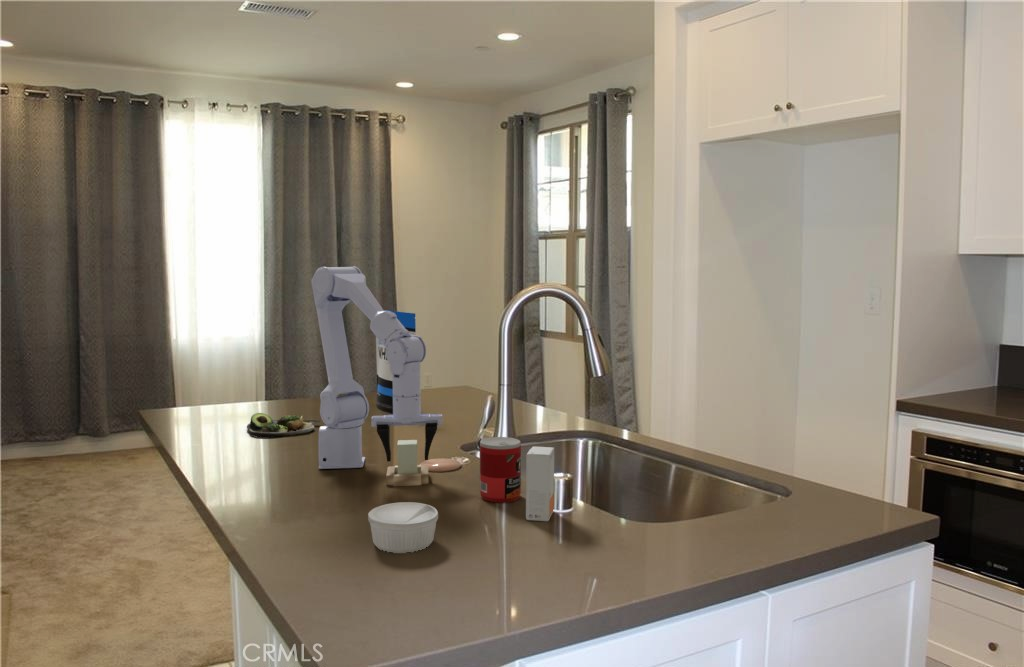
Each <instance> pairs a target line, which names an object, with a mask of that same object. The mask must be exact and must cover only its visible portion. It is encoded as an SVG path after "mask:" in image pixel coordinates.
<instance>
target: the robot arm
mask: <svg viewBox="0 0 1024 667" xmlns="http://www.w3.org/2000/svg"><path fill="white" fill-rule="evenodd" d="M310 282H311V288H312V294H313V300H314V305H315V308H316V316H317V321H318V327H319V332H320V339H321V345H322V350H323V355H324V362H325V369H326V374H327V381H328V384H327V386H326V387H325V388H324V389H323V390H322V391H321V392H320V394H319V397H320V406H319V415H320V419H321V420H322V422H323V423H324V424H325V425H321V426H319V429H318V469H319V470H323V469H324V470H326V469H327V470H329V469H331V470H332V469H358V468H359V469H361V468H363V467H364V464H365V461H366V456H363V443H362V442H363V440H362V439H363V436H362V432H363V430H362V425H363V424H365V420H366V418H367V417H368V415H369V412H370V404H369V401H368V398H367V396H366V395H365V392H364V387H363V386H362V385H361V384H360V383H358V382H357V381H356V380H355V379H354V378H353V377H354V376H353V375H354V374H353V372H352V371H353V370H352V364H351V358H350V354H349V353H350V352H349V347H348V342H347V341H348V340H347V336H346V329H345V324H344V317H343V313H342V312H343V309H345V306H347V305H348V304H350V302H351V301H352V302H353V304H355V306H356V307H358V309H359V310H360V311H361V312H362V313H363V314H364V315H365V317H367V318H368V319H369V321H370V323H369V329H370V330H371V332H372V333H373V335H374V336H375V338H376V337H377V338H378V339H379V340H380V342H381V343H382V344H383V345H384V347H385V348H386V349H387V351H385V352H386V358H387V360H388V362H389V364H390V371H391V373H392V376H393V413H392V414H384V415H372V416H371V419H370V420H371V423H370V426H371V428H376V433H377V435H378V437H379V439H380V440H381V443H382V445H383V449H384V451H385V456H386V462H391V460H392V451H391V442H390V441H391V434H390V433H391V432H390V431H391V430H390V429H391V427H392V426H393V427H395V426H397V427H399V426H401V427H402V426H425V427H424V428H425V429H424V430H425V431H424V432H425V433H424V434H425V435H424V437H425V438H424V439H425V443H424V461H426V460H429V456H430V455H429V453H430V449H431V446H432V443H433V440H434V438H435V436H436V433H437V430H438V426H443V414H442V413H441V414H440V413H438V414H435V413H422V404H421V402H422V399H421V398H422V394H421V392H422V391H421V390H422V389H421V388H422V387H421V386H422V385H421V384H422V383H421V363H422V362H423V361H424V360H425V358H426V355H427V348H426V347H427V346H426V344H425V342H424V339H423V338H422V336H419V335H418V334H416V335H413V334H412V333H409V332H408V330H407V329H405V327H404V326H403V325H402V324H401V323H400V321H399V320H398V319H397V318H396V317H397V316H396V314H395V313H392V312H391V311H392V310H387V311H384V310H385V309H383V307H382V306H381V304H380V303H379V302H378V300H377V298H376V297H375V295H373V293H372V291H371V290H370V289H369V287H368V286H367V278H366V275H365V274H364V273H362V271H361V269H360V268H359V267H357V266H354V265H353V266H344V267H343V266H340V267H339V266H335V267H334V266H333V267H330V266H329V267H328V266H320V267H318V268H317V269H316V270H315V272H314V275H313V276H312V278H311V280H310ZM344 394H345V395H344Z"/></svg>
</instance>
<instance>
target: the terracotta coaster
mask: <svg viewBox="0 0 1024 667" xmlns="http://www.w3.org/2000/svg"><path fill="white" fill-rule="evenodd" d="M419 465H421V466H425V465H428V472H433V473H443V472H451V471H456V470H458V469H460V468H461V466H462V463H461V461H459V460H457V459H453V458H431V459H428V460H424V461H421V462H420V463H419Z"/></svg>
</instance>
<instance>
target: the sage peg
mask: <svg viewBox="0 0 1024 667" xmlns="http://www.w3.org/2000/svg"><path fill="white" fill-rule="evenodd" d="M396 444H397V445H396V447H397V448H396V452H397V459H396V460H397V465H398V474H418V473H417V465H418V439H400V440H399V439H398V440H397V443H396Z"/></svg>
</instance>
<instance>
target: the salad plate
mask: <svg viewBox="0 0 1024 667" xmlns="http://www.w3.org/2000/svg"><path fill="white" fill-rule="evenodd" d="M321 420H322V419H321ZM321 420H320V419H304V418H303V415H301V416H298V415H297V414H295V415H290V414H289V415H288V414H287V415H284V416H281V417H280V418H279V419H273V418H272V417H271V416H270V415H269V414H266V413H264V412H255V413H254V414H252V415H251V418H250V423H248V424H247V426H246V430H247V433H249V435H250V436H251V437H254V436H257V437H256V438H263V437H268V438H278V437H279V436H281V437H287V436H286V435H290V436H295V435H296V434H297V435H302V434H307V433H310V432H313V430H314V429H315V425H314V424H316V423H321ZM298 429H301V430H298ZM291 430H296V431H291ZM287 431H289V432H287ZM279 438H280V437H279Z"/></svg>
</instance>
